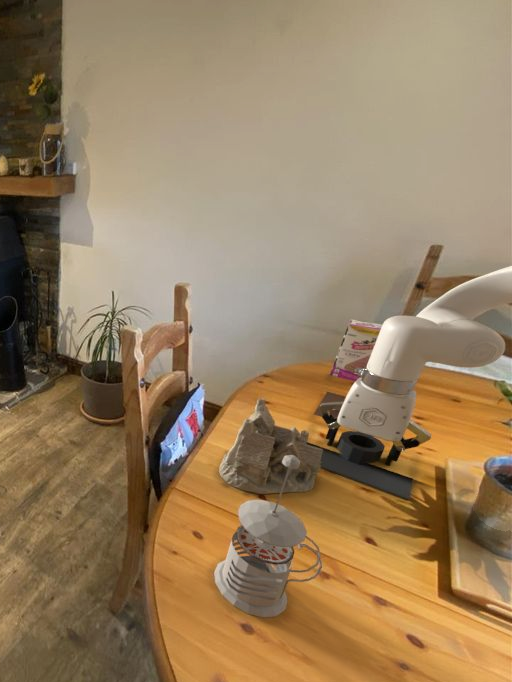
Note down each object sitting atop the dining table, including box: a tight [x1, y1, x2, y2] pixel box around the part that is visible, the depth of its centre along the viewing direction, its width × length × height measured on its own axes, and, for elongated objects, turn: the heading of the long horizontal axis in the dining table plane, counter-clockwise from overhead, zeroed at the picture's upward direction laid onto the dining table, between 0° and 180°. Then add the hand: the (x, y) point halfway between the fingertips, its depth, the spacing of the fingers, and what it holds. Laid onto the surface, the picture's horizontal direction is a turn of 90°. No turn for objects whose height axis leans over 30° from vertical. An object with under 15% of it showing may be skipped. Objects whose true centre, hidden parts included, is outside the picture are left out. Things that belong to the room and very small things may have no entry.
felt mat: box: [307, 441, 414, 501], centre depth 87 cm, size 18×18×1 cm
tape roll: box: [335, 430, 386, 466], centre depth 86 cm, size 7×7×4 cm
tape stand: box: [313, 391, 347, 418], centre depth 99 cm, size 14×14×4 cm
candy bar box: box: [329, 318, 383, 382], centre depth 110 cm, size 11×5×16 cm, turn 47°
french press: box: [213, 455, 323, 619], centre depth 57 cm, size 10×12×25 cm
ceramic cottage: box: [218, 397, 323, 495], centre depth 81 cm, size 16×16×15 cm
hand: (358, 451), depth 87 cm, fingers open, 9 cm apart
